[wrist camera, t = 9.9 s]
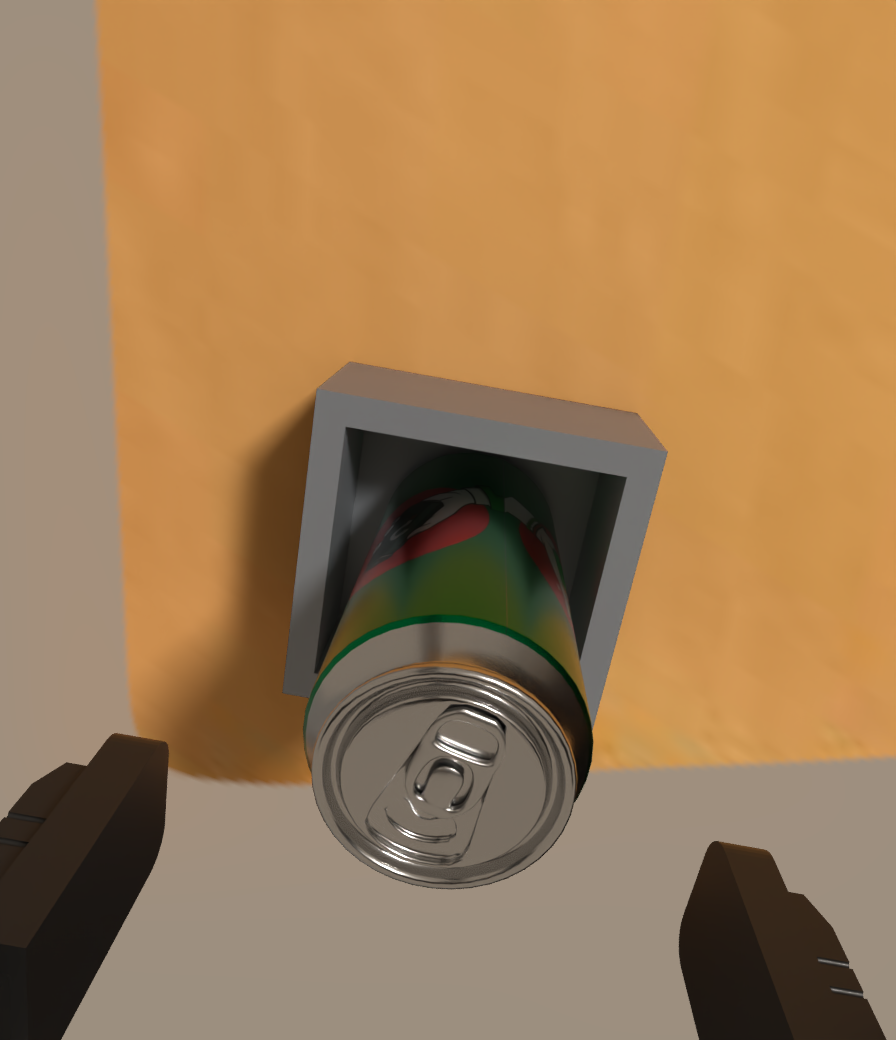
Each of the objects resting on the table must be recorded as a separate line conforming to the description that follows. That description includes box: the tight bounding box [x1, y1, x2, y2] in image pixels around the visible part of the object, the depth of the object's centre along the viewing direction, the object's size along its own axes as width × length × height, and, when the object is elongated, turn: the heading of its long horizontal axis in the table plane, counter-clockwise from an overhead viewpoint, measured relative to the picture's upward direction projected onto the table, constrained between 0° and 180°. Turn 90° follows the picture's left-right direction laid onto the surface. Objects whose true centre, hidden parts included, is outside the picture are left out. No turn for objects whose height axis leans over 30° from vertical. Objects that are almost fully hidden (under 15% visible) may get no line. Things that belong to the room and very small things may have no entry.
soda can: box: [303, 453, 593, 889], centre depth 18 cm, size 5×5×12 cm
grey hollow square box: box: [283, 362, 668, 730], centre depth 23 cm, size 9×9×4 cm
